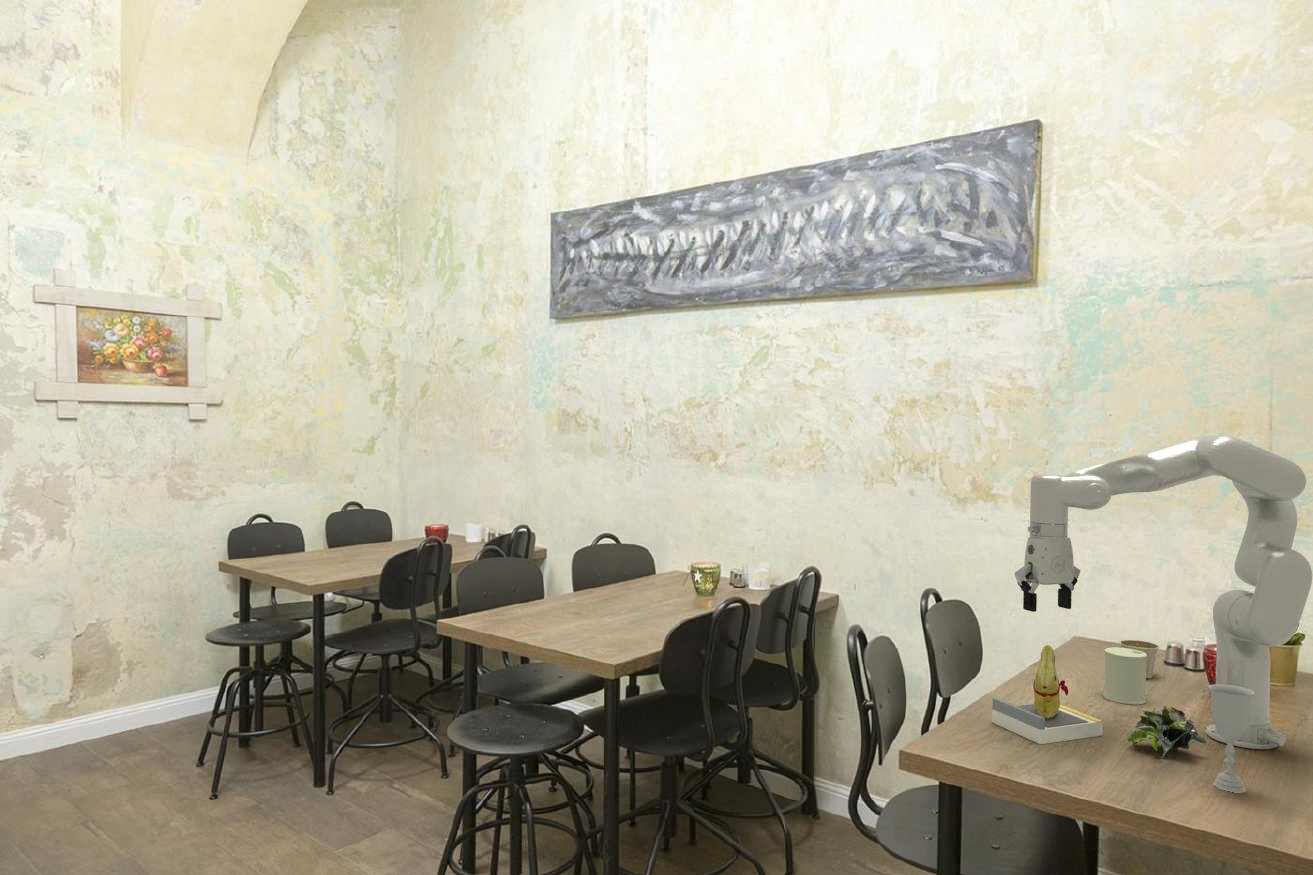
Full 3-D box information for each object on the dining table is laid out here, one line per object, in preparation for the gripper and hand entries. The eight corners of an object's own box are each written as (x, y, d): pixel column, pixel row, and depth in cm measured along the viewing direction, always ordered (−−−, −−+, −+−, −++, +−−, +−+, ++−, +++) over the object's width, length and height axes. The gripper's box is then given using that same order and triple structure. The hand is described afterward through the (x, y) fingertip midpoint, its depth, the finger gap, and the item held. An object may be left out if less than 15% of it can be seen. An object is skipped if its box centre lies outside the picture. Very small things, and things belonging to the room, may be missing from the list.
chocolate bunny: (1030, 719, 184) (1032, 649, 184) (1036, 705, 193) (1037, 639, 193) (1065, 725, 180) (1067, 654, 180) (1069, 710, 190) (1071, 643, 190)
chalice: (1235, 779, 161) (1237, 684, 161) (1262, 795, 154) (1264, 695, 154) (1197, 779, 161) (1199, 684, 160) (1222, 795, 154) (1224, 695, 154)
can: (1154, 705, 205) (1155, 655, 205) (1115, 704, 205) (1116, 654, 205) (1133, 693, 214) (1134, 645, 214) (1096, 692, 214) (1097, 644, 214)
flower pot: (1123, 679, 227) (1123, 646, 227) (1115, 669, 236) (1115, 638, 236) (1163, 682, 224) (1163, 649, 224) (1153, 673, 233) (1154, 641, 233)
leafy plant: (1173, 775, 176) (1214, 734, 173) (1165, 781, 168) (1208, 738, 165) (1124, 733, 183) (1163, 692, 180) (1114, 737, 175) (1155, 694, 172)
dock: (1102, 735, 184) (1102, 710, 184) (1040, 744, 178) (1040, 718, 178) (1051, 714, 197) (1051, 691, 197) (992, 722, 191) (992, 698, 191)
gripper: (1030, 534, 180) (1029, 615, 180) (1092, 531, 186) (1091, 610, 186) (1004, 530, 187) (1003, 608, 187) (1065, 528, 193) (1064, 603, 194)
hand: (1047, 609), depth 187 cm, fingers open, 9 cm apart
